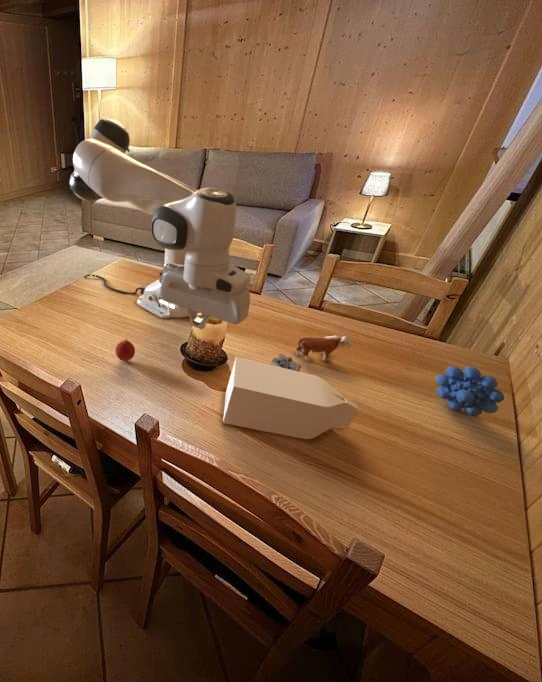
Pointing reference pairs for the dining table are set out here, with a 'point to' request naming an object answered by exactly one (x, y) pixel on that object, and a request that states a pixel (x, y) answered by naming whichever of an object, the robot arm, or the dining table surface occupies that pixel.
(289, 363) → the red grey filled tin
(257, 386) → the milk
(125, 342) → the onion
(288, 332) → the dining table surface
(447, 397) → the grapes
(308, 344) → the bull figurine
